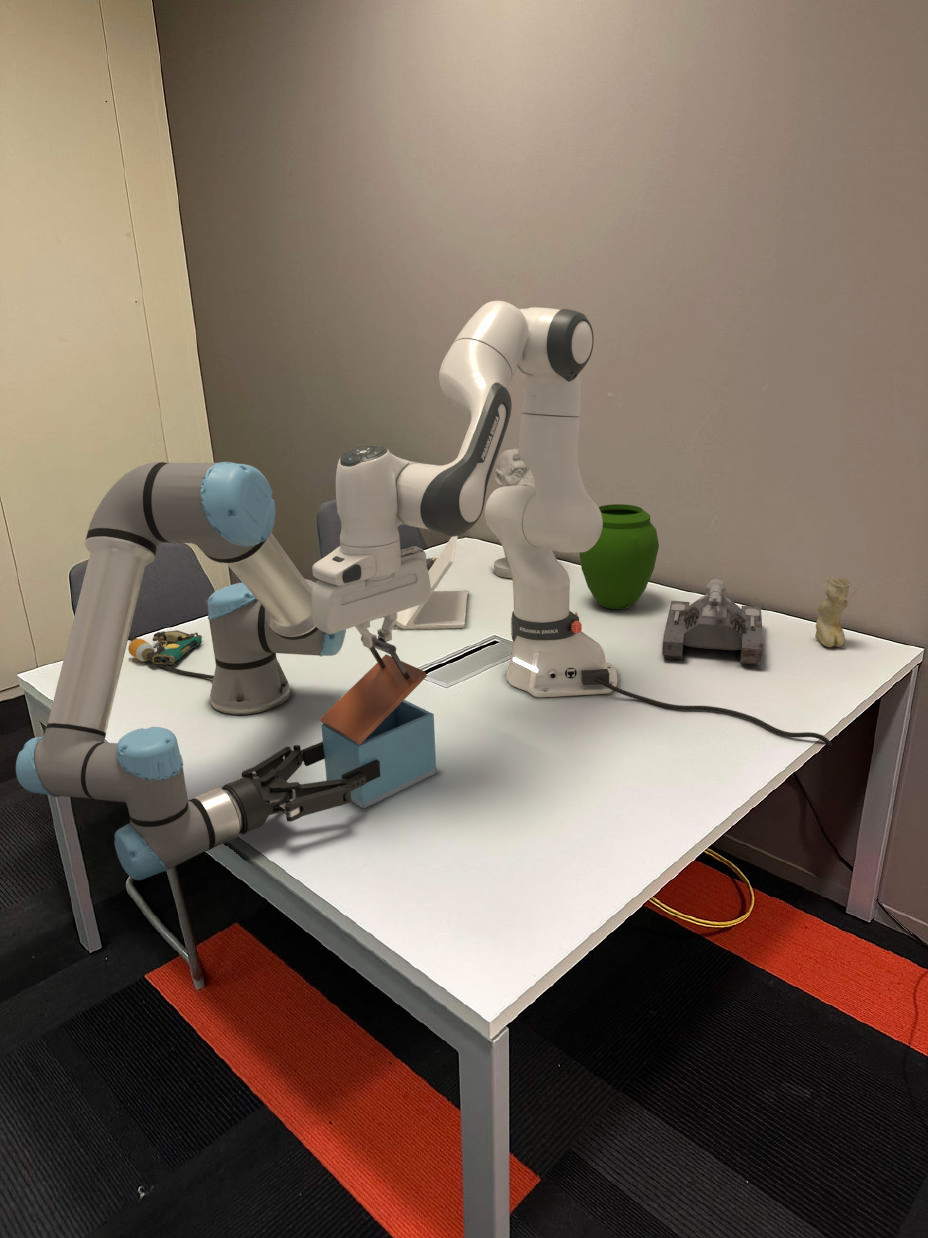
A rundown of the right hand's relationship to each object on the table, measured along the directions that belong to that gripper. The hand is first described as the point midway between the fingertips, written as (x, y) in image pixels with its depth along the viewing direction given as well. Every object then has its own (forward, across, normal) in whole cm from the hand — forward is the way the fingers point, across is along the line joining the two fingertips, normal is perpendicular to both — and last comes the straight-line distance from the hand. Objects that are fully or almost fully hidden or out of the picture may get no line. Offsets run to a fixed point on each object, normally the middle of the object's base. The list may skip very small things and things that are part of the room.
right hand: (377, 643), depth 132 cm
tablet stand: (+24, -56, -55) cm, 82 cm away
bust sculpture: (+24, -93, -58) cm, 112 cm away
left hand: (+18, +5, 0) cm, 18 cm away
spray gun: (+24, +3, -77) cm, 81 cm away
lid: (+9, +1, 0) cm, 9 cm away
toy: (+24, -85, +7) cm, 89 cm away
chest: (+24, +1, 0) cm, 24 cm away
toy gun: (+24, -74, -84) cm, 115 cm away
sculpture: (+24, -103, +25) cm, 108 cm away
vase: (+24, -91, -24) cm, 97 cm away
